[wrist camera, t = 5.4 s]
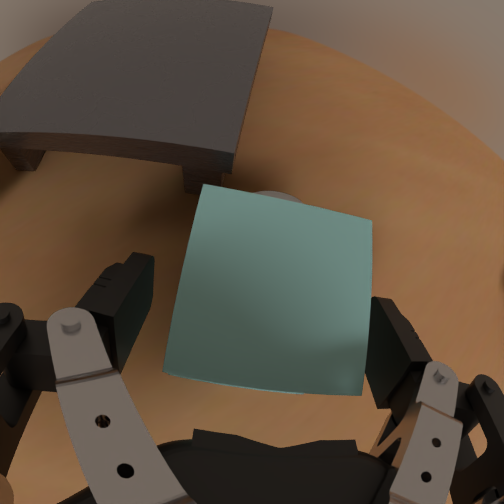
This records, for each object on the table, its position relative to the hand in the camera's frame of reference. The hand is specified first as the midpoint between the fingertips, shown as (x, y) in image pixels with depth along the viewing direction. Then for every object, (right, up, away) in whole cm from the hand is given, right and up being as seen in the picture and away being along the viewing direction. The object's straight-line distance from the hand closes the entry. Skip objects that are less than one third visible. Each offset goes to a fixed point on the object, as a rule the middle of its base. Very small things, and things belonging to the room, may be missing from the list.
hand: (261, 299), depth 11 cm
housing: (-1, -2, +4) cm, 5 cm away
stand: (-8, +13, +8) cm, 18 cm away
